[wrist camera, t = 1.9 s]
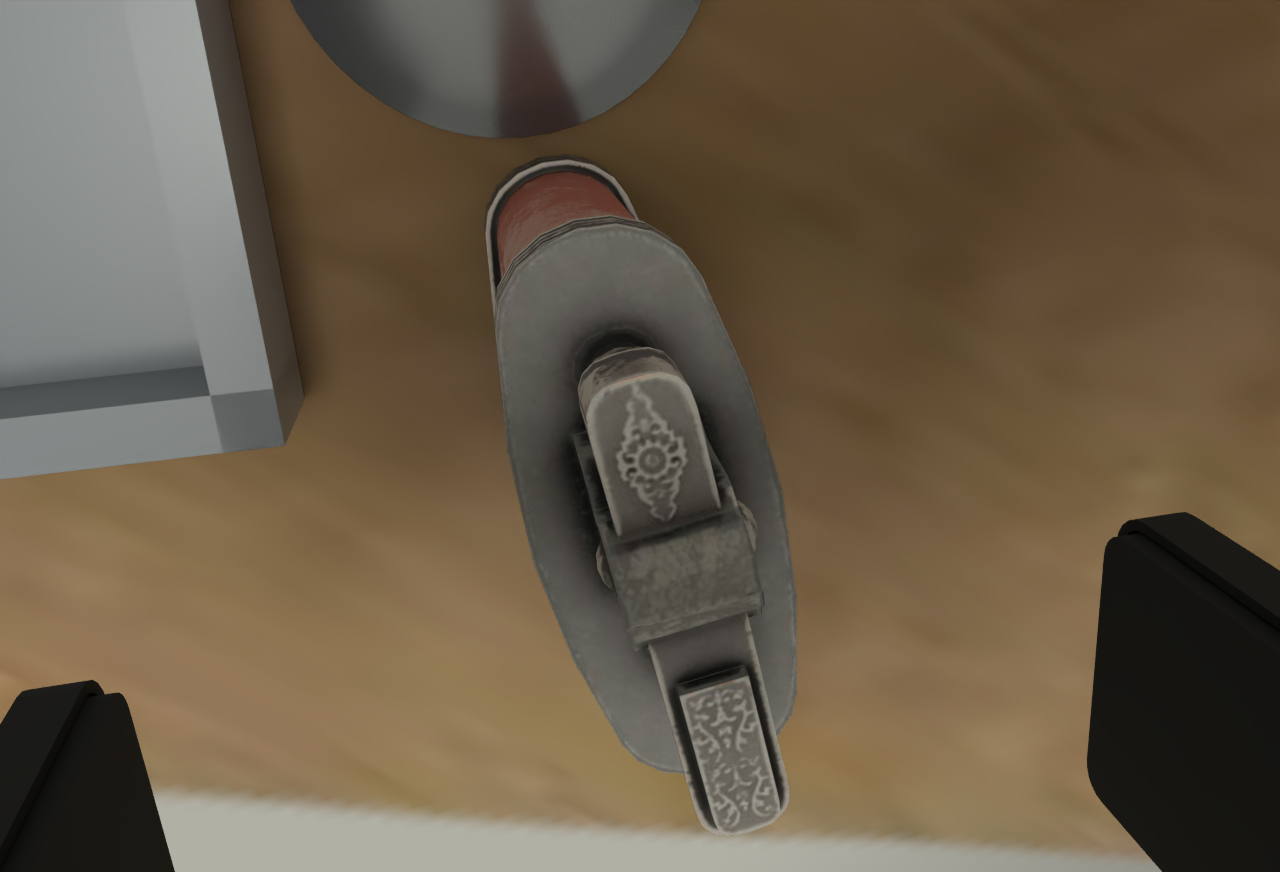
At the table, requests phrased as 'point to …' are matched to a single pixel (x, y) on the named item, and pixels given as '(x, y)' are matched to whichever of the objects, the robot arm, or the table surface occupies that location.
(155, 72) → the tray
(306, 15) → the pot lid
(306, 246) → the table surface
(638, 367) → the lighter
